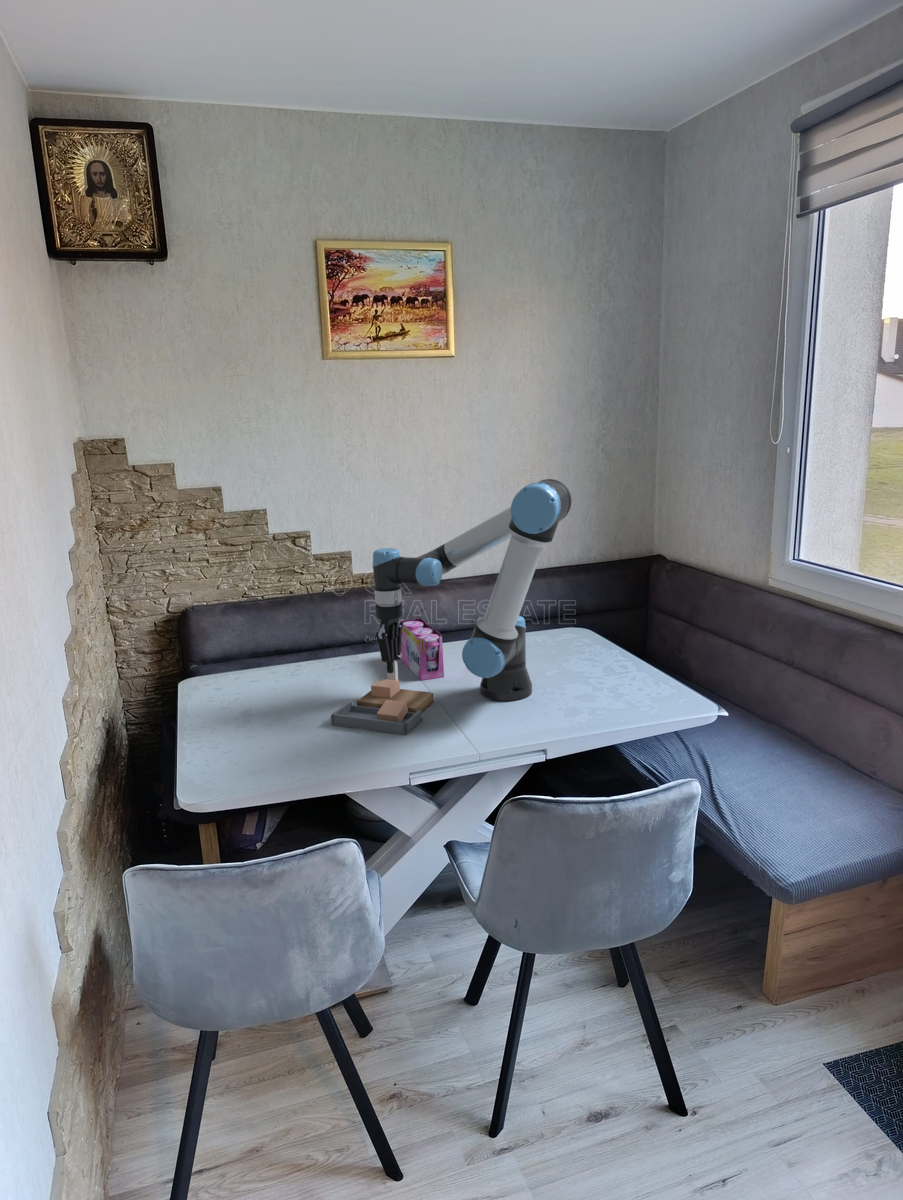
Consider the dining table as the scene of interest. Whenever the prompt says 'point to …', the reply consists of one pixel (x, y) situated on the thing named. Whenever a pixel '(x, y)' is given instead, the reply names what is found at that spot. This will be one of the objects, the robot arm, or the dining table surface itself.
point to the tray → (373, 719)
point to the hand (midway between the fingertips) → (392, 681)
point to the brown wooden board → (412, 698)
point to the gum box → (422, 649)
